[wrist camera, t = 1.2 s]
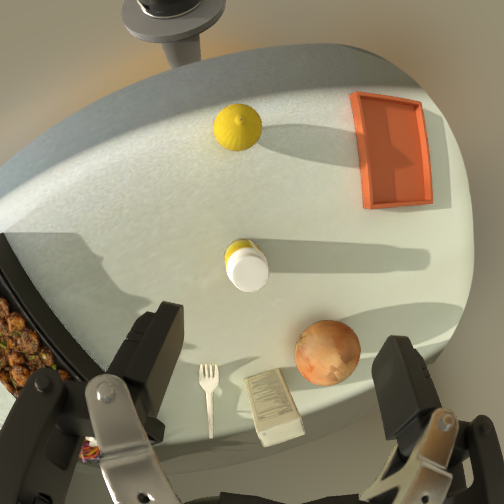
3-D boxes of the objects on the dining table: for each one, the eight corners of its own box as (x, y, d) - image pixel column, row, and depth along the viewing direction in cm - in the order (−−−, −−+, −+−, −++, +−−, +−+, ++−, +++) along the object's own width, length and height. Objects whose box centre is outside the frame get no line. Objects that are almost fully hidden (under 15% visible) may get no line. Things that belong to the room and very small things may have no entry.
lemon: (219, 159, 34) (220, 150, 26) (209, 119, 32) (208, 101, 24) (260, 149, 34) (274, 138, 26) (250, 110, 33) (260, 90, 25)
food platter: (165, 425, 42) (159, 466, 32) (94, 450, 42) (85, 482, 33) (3, 232, 30) (-37, 245, 20) (-37, 302, 31) (-64, 320, 21)
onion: (330, 364, 43) (354, 400, 34) (277, 357, 41) (294, 398, 32) (353, 315, 42) (385, 346, 32) (300, 303, 40) (324, 337, 30)
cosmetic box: (250, 395, 42) (262, 448, 31) (243, 378, 41) (253, 432, 30) (286, 384, 43) (306, 435, 31) (281, 366, 42) (301, 418, 30)
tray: (349, 95, 34) (355, 91, 32) (414, 104, 35) (421, 101, 33) (363, 208, 38) (370, 209, 36) (425, 202, 39) (433, 203, 37)
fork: (202, 435, 44) (202, 442, 42) (198, 357, 39) (197, 364, 38) (219, 435, 44) (219, 442, 42) (219, 357, 40) (219, 364, 38)
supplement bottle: (218, 263, 37) (219, 284, 28) (234, 231, 36) (240, 244, 28) (249, 278, 38) (259, 302, 30) (266, 247, 37) (280, 264, 29)
